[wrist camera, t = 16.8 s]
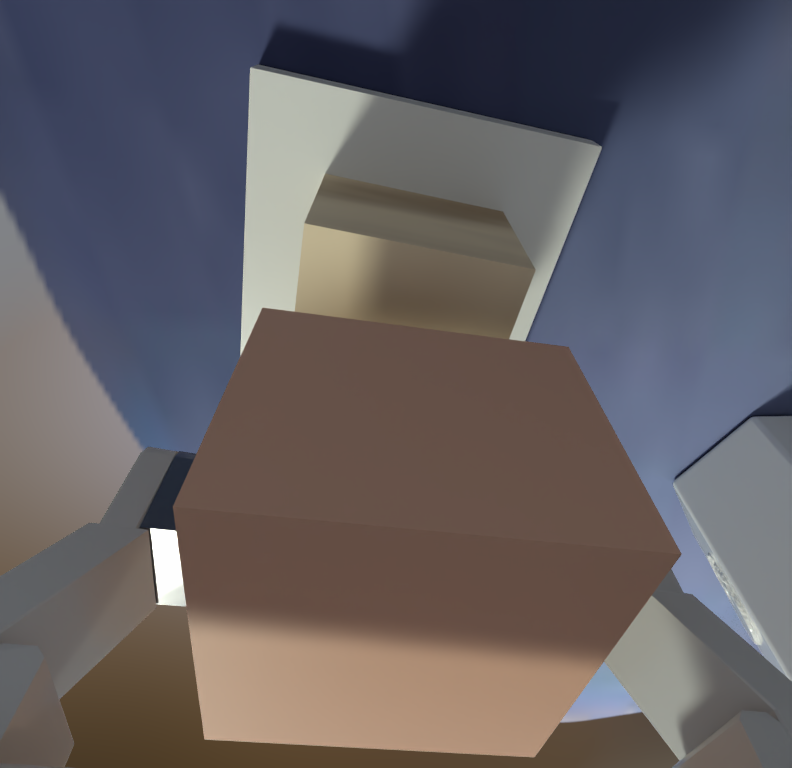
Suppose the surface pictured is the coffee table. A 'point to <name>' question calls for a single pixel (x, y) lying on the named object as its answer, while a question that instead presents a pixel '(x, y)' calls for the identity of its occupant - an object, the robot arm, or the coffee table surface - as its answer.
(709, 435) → the coffee table surface
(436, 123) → the base plate
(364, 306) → the maple block
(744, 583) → the jar
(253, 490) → the terracotta block
